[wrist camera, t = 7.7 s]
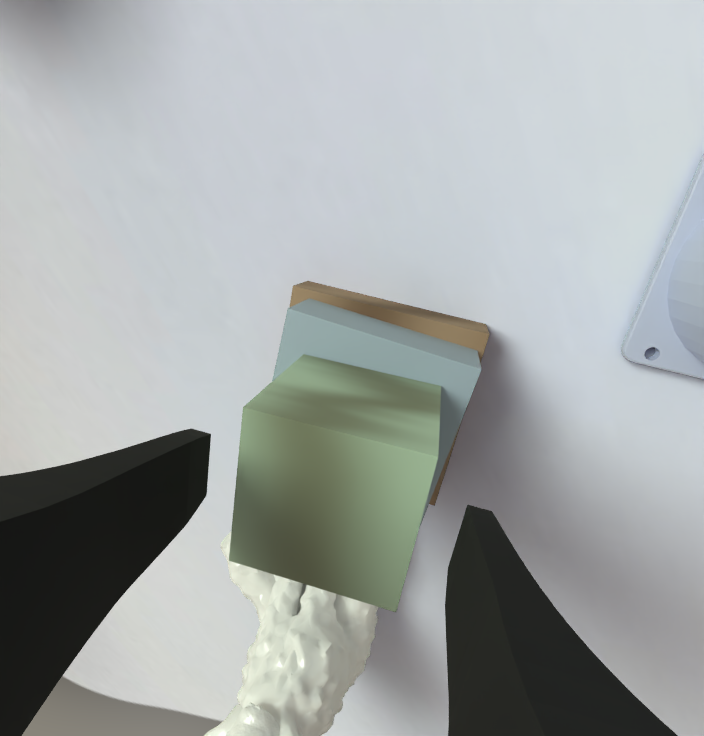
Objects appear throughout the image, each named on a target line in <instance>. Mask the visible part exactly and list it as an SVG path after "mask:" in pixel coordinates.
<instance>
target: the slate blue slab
mask: <svg viewBox="0 0 704 736" xmlns="http://www.w3.org/2000/svg"><path fill="white" fill-rule="evenodd" d="M303 354H305V355H309V356H314V357H318V358H322V359H327V360H331V361H335V362H340V363H344V364H348V365H353V366H357V367H361V368H365V369H370V370H374V371H378V372H383V373H387V374H391V375H396V376H400V377H404V378H409V379H413V380H417V381H422V382H426V383H430V384H434V385H439V386H441V403H440V429H439V454H438V460H437V464H436V468H435V471H434V475H433V479H432V482H431V486H430V490H429V493H428V497H427V501H426V504H425V508H424V512H423V515H422V519H421V523H422V520H423V517H424V515H425V512H426V510H427V507H428V505H429V502H430V500H431V497H432V495H433V492H434V489H435V487H436V484H437V482H438V479H439V477H440V474H441V472H442V469H443V466H444V464H445V461H446V459H447V456H448V454H449V451H450V449H451V446H452V444H453V441H454V438H455V436H456V433H457V431H458V428H459V426H460V423H461V421H462V418H463V415H464V413H465V410H466V408H467V405H468V403H469V400H470V398H471V395H472V393H473V390H474V387H475V385H476V382H477V380H478V377H479V375H480V372H481V370H482V369H481V364H480V360H479V356H478V351H477V350H474V349H471V348H468V347H464V346H461V345H458V344H455V343H452V342H448V341H445V340H442V339H439V338H436V337H432V336H429V335H426V334H423V333H419V332H416V331H413V330H410V329H407V328H403V327H400V326H397V325H394V324H391V323H387V322H384V321H381V320H378V319H374V318H371V317H368V316H365V315H362V314H358V313H355V312H352V311H349V310H346V309H342V308H339V307H336V306H333V305H329V304H326V303H323V302H320V301H317V300H313V299H310V298H309V299H307V300H304V301H302V302H300V303H298V304H296V305H294V306H292V307H290V308H288V310H287V315H286V320H285V324H284V329H283V334H282V338H281V343H280V348H279V352H278V357H277V362H276V366H275V371H274V376H273V380H272V382H273V381H274V380H275V379H276V378H277V377H278V376H279V375H280V374H282V373H283V372H284V371H285V370H286V369H287V368H288V367H290V366H291V365H292V364H293V363H294V362H295V361H296V360H298V359H299V358H300V357H301V356H302V355H303ZM421 523H420V525H421ZM419 528H420V526H419Z"/></svg>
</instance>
